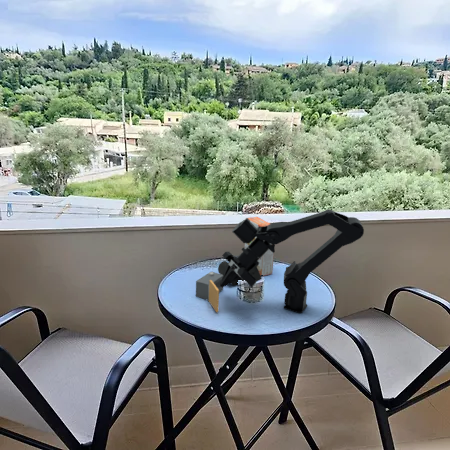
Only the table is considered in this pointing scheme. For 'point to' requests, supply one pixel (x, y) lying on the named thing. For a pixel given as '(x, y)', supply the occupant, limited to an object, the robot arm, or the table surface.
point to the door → (213, 295)
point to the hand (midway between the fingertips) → (220, 286)
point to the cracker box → (267, 259)
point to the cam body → (207, 284)
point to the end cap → (222, 269)
